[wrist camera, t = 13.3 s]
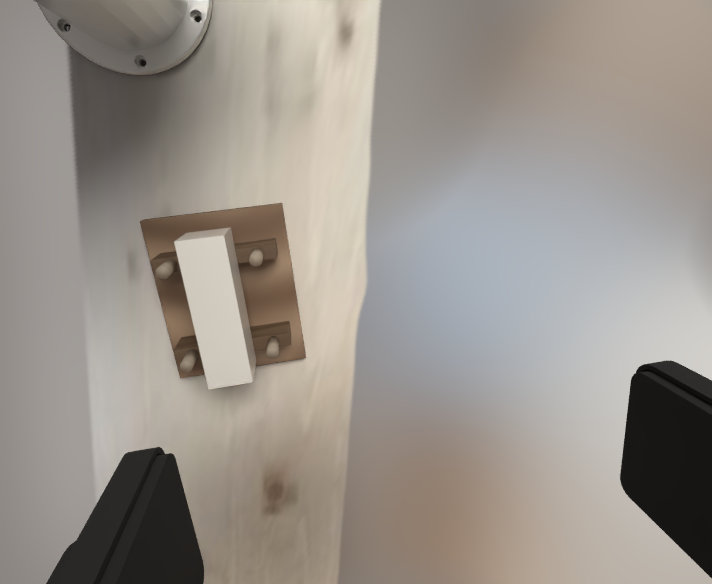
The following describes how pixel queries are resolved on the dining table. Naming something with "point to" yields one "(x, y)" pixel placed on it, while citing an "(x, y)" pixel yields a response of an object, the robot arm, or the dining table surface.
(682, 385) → the robot arm
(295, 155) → the dining table surface
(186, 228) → the walnut rack
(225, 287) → the white rectangular block
